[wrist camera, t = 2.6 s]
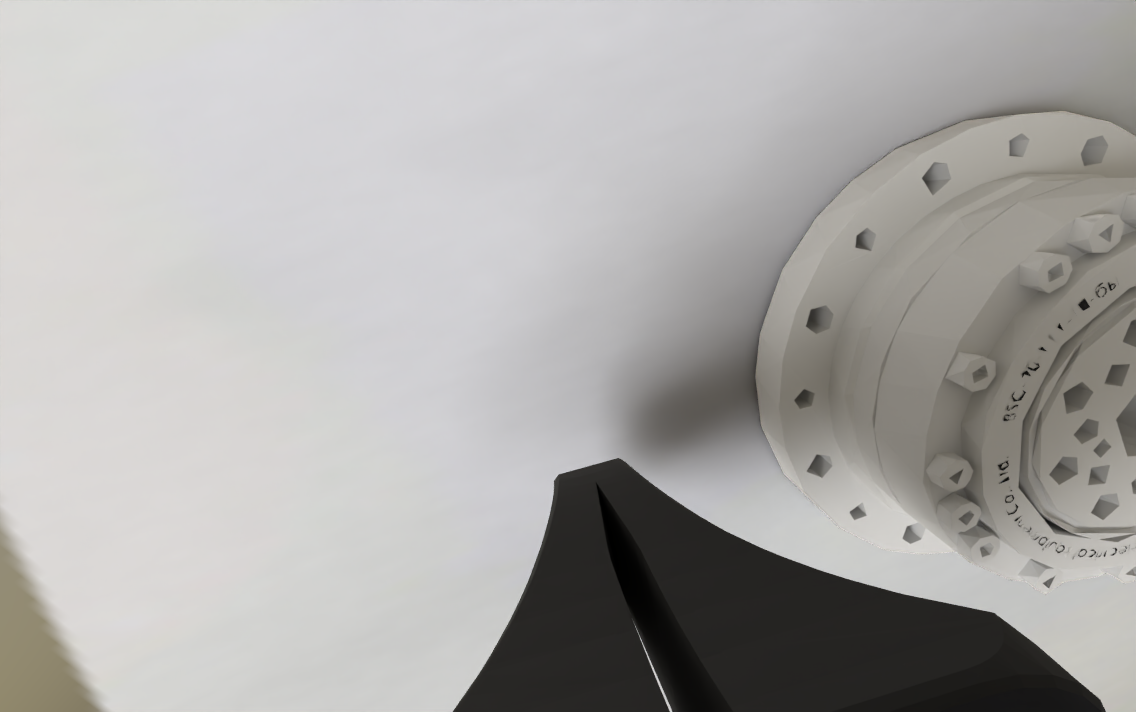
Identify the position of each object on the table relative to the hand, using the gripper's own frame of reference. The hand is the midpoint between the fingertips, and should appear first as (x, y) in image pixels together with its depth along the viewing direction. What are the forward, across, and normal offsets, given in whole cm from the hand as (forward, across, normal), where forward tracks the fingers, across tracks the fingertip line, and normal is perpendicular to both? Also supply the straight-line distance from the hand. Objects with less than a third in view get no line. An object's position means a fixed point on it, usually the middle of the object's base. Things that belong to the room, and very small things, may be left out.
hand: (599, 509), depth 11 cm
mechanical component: (+2, -9, 0) cm, 10 cm away
